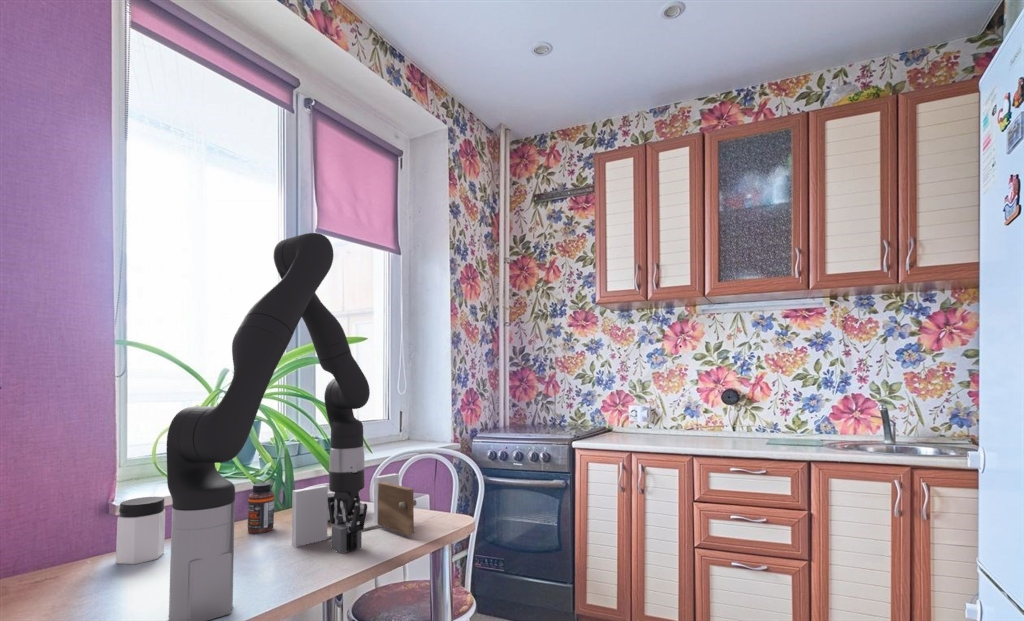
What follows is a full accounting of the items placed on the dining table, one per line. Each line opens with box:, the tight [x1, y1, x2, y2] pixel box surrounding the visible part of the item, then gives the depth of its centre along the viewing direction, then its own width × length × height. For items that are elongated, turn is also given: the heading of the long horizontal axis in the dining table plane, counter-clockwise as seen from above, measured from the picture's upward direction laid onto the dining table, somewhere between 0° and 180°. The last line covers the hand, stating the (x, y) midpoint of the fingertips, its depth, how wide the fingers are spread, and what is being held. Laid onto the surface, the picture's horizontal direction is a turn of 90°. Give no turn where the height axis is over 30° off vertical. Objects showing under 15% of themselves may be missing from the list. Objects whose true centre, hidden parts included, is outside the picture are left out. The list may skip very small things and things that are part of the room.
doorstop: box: [331, 521, 363, 554], centre depth 128 cm, size 4×5×5 cm
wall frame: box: [291, 473, 400, 548], centre depth 140 cm, size 2×27×12 cm, turn 134°
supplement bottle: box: [247, 482, 275, 534], centre depth 144 cm, size 6×6×11 cm
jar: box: [115, 496, 166, 565], centre depth 125 cm, size 9×8×12 cm
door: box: [378, 482, 418, 535], centre depth 140 cm, size 4×14×10 cm, turn 44°
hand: (346, 547), depth 127 cm, fingers closed on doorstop, 4 cm apart
